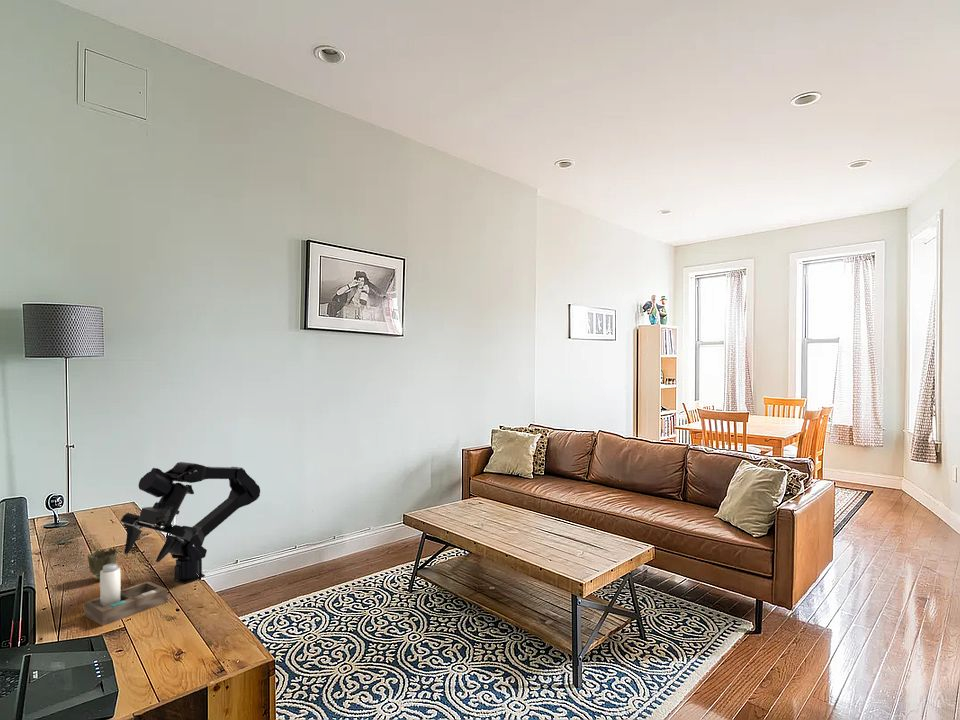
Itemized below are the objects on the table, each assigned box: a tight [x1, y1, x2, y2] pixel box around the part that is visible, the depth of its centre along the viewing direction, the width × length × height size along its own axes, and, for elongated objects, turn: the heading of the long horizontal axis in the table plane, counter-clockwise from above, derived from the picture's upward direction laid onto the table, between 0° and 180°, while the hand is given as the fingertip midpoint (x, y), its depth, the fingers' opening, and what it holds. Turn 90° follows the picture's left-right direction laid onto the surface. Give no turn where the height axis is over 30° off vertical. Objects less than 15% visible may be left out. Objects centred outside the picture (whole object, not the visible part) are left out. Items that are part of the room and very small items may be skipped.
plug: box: [99, 562, 122, 608], centre depth 144 cm, size 4×4×12 cm
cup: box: [87, 547, 118, 581], centre depth 167 cm, size 8×7×8 cm
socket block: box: [83, 581, 168, 626], centre depth 147 cm, size 16×10×4 cm, turn 147°
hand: (141, 557), depth 153 cm, fingers open, 9 cm apart
